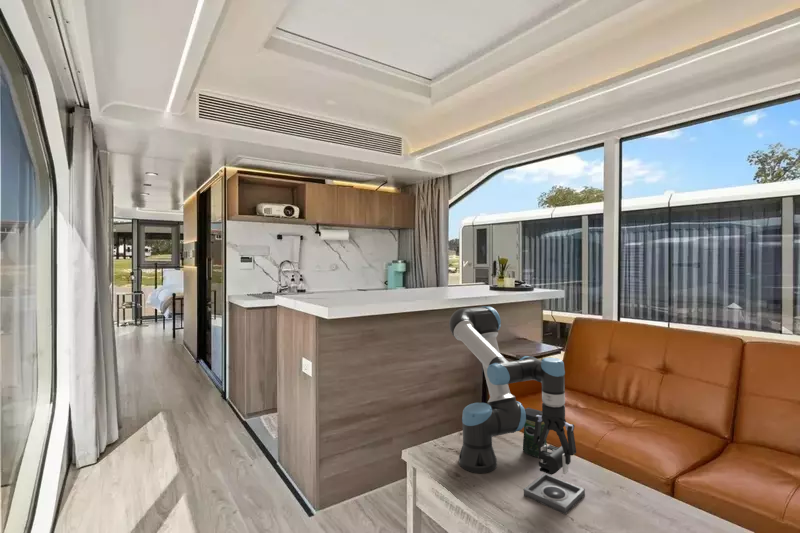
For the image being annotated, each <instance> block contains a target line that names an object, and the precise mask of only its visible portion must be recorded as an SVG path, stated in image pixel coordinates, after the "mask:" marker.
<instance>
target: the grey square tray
mask: <svg viewBox="0 0 800 533" xmlns="http://www.w3.org/2000/svg"><path fill="white" fill-rule="evenodd" d="M585 491H586V489H585V488H583V487H582V486H578V485H576V484H574V483H572V482H569V481H567V480H564V479H561V478H559V477H556V476H554V475H550V474H547V473H544V472H543V474H541V475H540V476H539V477H538V478H536V479H534V481H532V482H531V483H530V484H529V485H526V487H525V488H524V489H523V496H525V497H527V498H529V499H530V500H533V501H535V502H536V503H537V502H538V503H540V504H541V505H544V506H546V507H548V508H550V509H553V510H554V511H557V512H559V513H562V514H563V515H566V514H567V513H569V511H570V510H571V509H573V507H574V506H575V505H576V504H577V503H578V502H579V501H580V500H581V499H583V498H584V496H585V495H586V492H585Z"/></svg>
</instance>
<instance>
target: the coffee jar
mask: <svg viewBox="0 0 800 533" xmlns="http://www.w3.org/2000/svg"><path fill="white" fill-rule="evenodd" d="M524 409H525V413H526V422H525V424H524V427H523V440H522V441H523V442H522V451H523V453H525V454H527V455H529V456H532V457H536V458H539V446H538V444H537V443H534V442H533V439H534V430H535V419H534V417H535V416H537V415H540V416H542V415H543V413H542V410H538V409H535V408H531V407H527V408H524ZM544 426H545V423H544V422H543V420H542V424H541V433H540V438H541V435H542V432H543V429H544ZM544 445H547V446H548V443H547V440H546V441H545V444H544Z"/></svg>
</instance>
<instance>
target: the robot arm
mask: <svg viewBox="0 0 800 533" xmlns="http://www.w3.org/2000/svg"><path fill="white" fill-rule="evenodd" d="M451 314H452V315H451V316H450V318H449V322H448V326H449V327H448V328H449V331H450V332H451V335H452V336H453V337H454V338H455V340H457V341H458V342H459V341H461V343H462V344H464V346H466V348H467V349H468V350H469V351H470V352H471V353H472V354H473V355H474V356H475V357H476V358H477V359H478V360H479V362H480V363H481V365H482V368H483V373H484V377H485V380H486V385H487V390H488V395H489V399H488V401H487V403H486V402H474V403H473V402H472V403H470V404H468V405H466V406H465V407H464V408H463V410H462V417H461V423H462V446H461V449H460V452H459V455H458V465H459V466H460V468H461V469H463V470H465V471H467V472H469V473H470V472H471V473H474V474H476V473H477V474H487V473H490V472H493V471H494V470H496V468H497V466H498V463H497V462H498V461H497V456H496V454H495V450H494V448H493V437H497V436H501V435H508V434H514V433H516V432H519V431H521V430H522V429H524V424H525V422H526V413H525V409H526V408H525V407H524V406H523V403H521V402H520V401H517V399H516V396H515V395H514V394H512V393H511V391H510V387H509V386H510V385H509V384H513V383H521V382H526V381H536V382H539V383H541V400H542V404H541V411H542V413H543V415H542V416H540V415H537V416H535V417H534V419H535V430H534V439H533V442H534V443H537V444H538V446H539V453H540V452H541V451H542V450H544V451H547V452H548V449H547V447H548V444H547V445H544V444H545V441H546V442H547V438H548V435H549V433H550V431H553V432H555V433H556V436H558V439H559V441H560V444H561V446H562V448H563V451H564V454H563V455H562V463H563V465H562V466H563V467H562V474H563V475H566V474H567V473H568V472H569V465H570V464H571V461H572V459H571V457H572V456H574V455H575V454H577V448H576V446H577V445H576V439H575V432H574V430H575V424H573V423H569V422H567V420H566V405H565V404H566V392H565V391H566V390H565V387H566V386H565V385H566V384H565V383H566V382H565V381H566V378H565V375H566V370H565V363H564V361H563V360H562V359H560V358H557V357H543V358H542V359H539V358H536V357H534V356H528V355H524V356H522V357H521V358H519V360H511V361H510V360H508V359H506V358H505V357H504V355H503V354H501V352H500V348H499V344H498V340H497V337H498V336H499V330H500V329H501V326H502V324H501V323H502V320H501V317H500V314H499V313H498V311H497V310H496V308H494V307H492V306H483V305H482V306H476V307H462V308H458V309H457V310H455V311H454V312H453V313H451ZM542 420H543V422H544V423H545V426H544V429H543V432H542V435H541V438H540V433H541V424H542ZM564 428H565V429H564ZM565 430H566V434H565ZM566 435H567V436H566ZM540 462H542V463H547V462H546V461H545V460H542V459H540Z"/></svg>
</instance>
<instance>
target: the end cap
mask: <svg viewBox="0 0 800 533" xmlns="http://www.w3.org/2000/svg"><path fill="white" fill-rule="evenodd" d="M548 450H549V451H548ZM563 454H564V451H563V448H562V445H561V446H560V447H559V446H555V445H552V444H549V445H547V451H544V450H542V451H541V452H540V453H539V457H538V459H539V460H541V459H542V460H545V461H546V462H547V463H542V462H541V461H538V467H539V471H540V472H542V473H543V474H544V473H546V474H549V475H551V476H553V475H555V474H556V473H558V471H560V470H561V469H563V466H562V465H563V463H562V455H563Z"/></svg>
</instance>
